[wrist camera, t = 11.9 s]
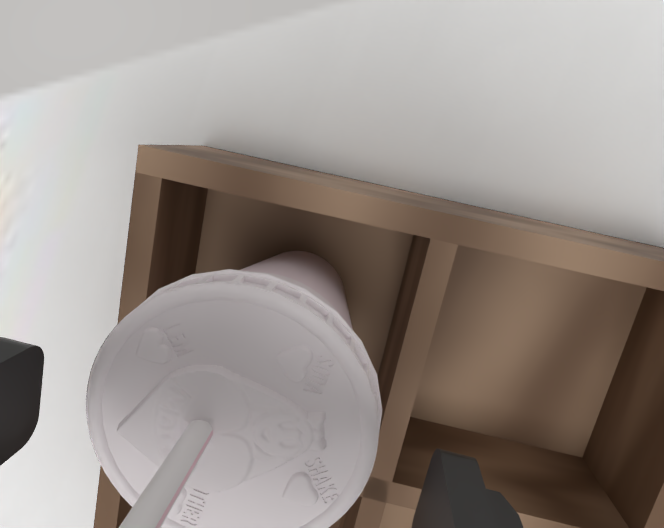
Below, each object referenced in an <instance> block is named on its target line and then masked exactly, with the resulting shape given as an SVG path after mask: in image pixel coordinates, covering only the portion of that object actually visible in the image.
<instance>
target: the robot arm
mask: <svg viewBox="0 0 664 528" xmlns="http://www.w3.org/2000/svg"><path fill="white" fill-rule="evenodd" d="M43 365H44V354H43V351H42V349H41V348H40V347H38V346H35V345H31V344H27V343H23V342H19V341H15V340H11V339H8V338H3V337H0V465H2V464H3V463H4V462H5V461H7V460H8V459H9V458H10V457H11V456H13V455H14V454H15V453H16V452H18V451H19V450H20V449H21V448H22V447H23V446H24V445H25V444H26V443H27V441H28V440H29V439H30V437H31V436H32V434H33V432H34V430H35V427H36V425H37V422H38V417H39V409H40V398H41V387H42V376H43ZM412 528H523V525H522V522H521V520H520V517H519V514H518V513H517V512H516V511H515V510H514V508H513V507H512V506H511V505H510V504H509V502H508V501H507V500H506V499H505V497H504V496H503V495H502V494H501V493H500V492H497V491H493V490H489V489H486V488H485V484H484V481H483V478H482V475H481V471H480V468H479V465H478V462H477V460H476V458H474V457H470V456H466V455H462V454H458V453H454V452H450V451H446V450H442V449H436V450H435V451H434V453H433V455H432V458H431V461H430V464H429V468H428V471H427V474H426V478H425V481H424V484H423V488H422V491H421V494H420V498H419V501H418V504H417V507H416V511H415V514H414V518H413V523H412Z"/></svg>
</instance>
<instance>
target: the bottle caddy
mask: <svg viewBox="0 0 664 528" xmlns="http://www.w3.org/2000/svg"><path fill="white" fill-rule="evenodd" d="M289 251H305V252H309V253H312V254H315V255H317V256H319V257H321V258H323V259H324V260H326V261H327V262H328V263H329V264H330V265H331V266H332V267H333V268H334V269H335V270H336V272H337V273H338V275H339V277H340V279H341V281H342V284H343V287H344V292H345V296H346V301H347V305H348V310H349V315H350V319H351V324H352V329H353V331H354V332H355V333H356V335H357V336H358V337H359V338H360V339H361V341H362V343H363V345H364V347H365V349H366V351H367V354H368V356H369V358H370V360H371V362H372V365H373V367H374V369H375V371H376V373H377V377H378V384H379V390H380V397H381V404H382V416H381V424H380V431H379V438H378V447H377V453H376V458H375V462H374V466H373V469H372V472H371V474H370V477H369V479H368V481H367V483H366V485H365V487H364V489H363V491H362V493H361V494H360V495H359V497H358V498H357V500H356V501H355V503H354V504H353V505H352V506H351V507H350V509H349V510H348V511H347V512H346V513H345V514H344V515H343V516H342V517H341V518H340V519H339V520H338V521H337V522H335V523H334V524H333V525H331V526H330V527H329V528H412V523H413V518H414V514H415V511H416V507H417V504H418V501H419V498H420V494H421V491H422V488H423V484H424V481H425V478H426V474H427V471H428V468H429V464H430V461H431V458H432V455H433V453H434V451H435V450H436V449H442V450H446V451H450V452H454V453H458V454H462V455H466V456H470V457H474V458H476V460H477V462H478V465H479V468H480V471H481V475H482V478H483V481H484V484H485V488H486V489H489V490H493V491H497V492H500V493H501V494H502V495H503V496H504V497H505V499H506V500H507V501H508V502H509V504H510V505H511V506H512V507H513V508H514V510H515V511H516V512H517V513H518V514H519V517H520V520H521V522H522V525H523V528H664V248H661V247H656V246H652V245H647V244H643V243H638V242H634V241H629V240H625V239H620V238H616V237H611V236H607V235H602V234H598V233H593V232H589V231H584V230H580V229H575V228H571V227H566V226H562V225H557V224H553V223H548V222H544V221H539V220H535V219H530V218H526V217H521V216H517V215H512V214H508V213H503V212H499V211H494V210H490V209H485V208H481V207H476V206H472V205H467V204H463V203H458V202H454V201H449V200H445V199H440V198H436V197H431V196H427V195H422V194H418V193H413V192H409V191H404V190H400V189H395V188H391V187H386V186H382V185H377V184H373V183H368V182H364V181H359V180H355V179H350V178H346V177H341V176H337V175H332V174H328V173H323V172H319V171H314V170H310V169H305V168H301V167H296V166H292V165H287V164H283V163H278V162H274V161H269V160H265V159H260V158H256V157H251V156H247V155H242V154H238V153H233V152H229V151H224V150H220V149H215V148H211V147H206V146H191V145H139V146H138V155H137V163H136V172H135V180H134V189H133V197H132V206H131V214H130V223H129V231H128V240H127V248H126V257H125V265H124V274H123V282H122V291H121V299H120V308H119V316H118V323H119V322H120V321H121V320H122V319H123V318H124V317H125V316H127V315H128V314H129V313H130V312H132V311H133V310H134V309H135V308H137V307H138V306H139V305H140V304H141V303H143V302H144V301H145V300H146V299H147V298H149V297H150V296H151V295H152V294H153V293H155V292H156V291H157V290H158V289H160V288H162V287H164V286H167V285H169V284H171V283H174V282H176V281H178V280H180V279H183V278H185V277H187V276H190V275H192V274H199V273H206V272H213V271H220V270H227V269H233V270H241V269H243V268H246V267H248V266H251V265H253V264H256V263H258V262H261V261H263V260H266V259H268V258H271V257H273V256H276V255H278V254H281V253H284V252H289ZM131 509H132V506H131V505H130V504H129V503H128V502H127V501H126V500H125V499H124V498H123V497H122V496H121V495H120V493H119V492H118V491H117V489H116V488H115V487H114V486H113V484H112V483H111V481H110V480H109V478H108V477H107V475H106V474H105V472H104V470H103V468H102V466H101V469H100V477H99V486H98V494H97V503H96V511H95V520H94V528H119V526H120V525H121V523H122V522H123V520H124V519H125V517H126V516H127V515H128V513H129V512H130V510H131Z"/></svg>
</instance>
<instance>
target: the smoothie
mask: <svg viewBox="0 0 664 528" xmlns="http://www.w3.org/2000/svg"><path fill="white" fill-rule="evenodd" d="M86 414H87V424H88V429H89V434H90V438H91V441H92V444H93V448H94V450H95V453H96V455H97V458H98V460H99V462H100V464H101V466H102V468H103V470H104V472H105V474H106V475H107V477H108V478H109V480H110V481H111V483H112V484H113V486H114V487H115V488H116V489H117V491H118V492H119V493H120V495H121V496H122V497H123V498H124V499H125V500H126V501H127V502H128V503H129V504H130V505H131V506H132V509H131V510H130V512H129V513H128V515H127V516H126V517H125V519H124V520H123V522H122V523H121V525H120V526H119V528H329V527H330V526H331V525H333V524H334V523H335V522H337V521H338V520H339V519H340V518H341V517H342V516H343V515H344V514H345V513H346V512H347V511H348V510H349V509H350V507H351V506H352V505H353V504H354V503H355V501H356V500H357V498H358V497H359V495H360V494H361V493H362V491H363V489H364V487H365V485H366V483H367V481H368V479H369V477H370V474H371V472H372V469H373V466H374V462H375V458H376V453H377V447H378V438H379V431H380V424H381V416H382V404H381V397H380V390H379V384H378V377H377V373H376V371H375V369H374V367H373V365H372V362H371V360H370V358H369V356H368V354H367V351H366V349H365V347H364V345H363V343H362V341H361V339H360V338H359V337H358V336H357V335H356V333H355V332H354V331H353V329H352V324H351V319H350V315H349V310H348V305H347V301H346V296H345V292H344V287H343V284H342V281H341V279H340V277H339V275H338V273H337V272H336V270H335V269H334V268H333V267H332V266H331V265H330V264H329V263H328V262H327V261H326V260H324V259H323V258H321V257H319V256H317V255H315V254H312V253H309V252H305V251H289V252H284V253H281V254H278V255H276V256H273V257H271V258H268V259H266V260H263V261H261V262H258V263H256V264H253V265H251V266H248V267H246V268H243V269H241V270H233V269H227V270H220V271H213V272H206V273H199V274H192V275H190V276H187V277H185V278H183V279H180V280H178V281H176V282H174V283H171V284H169V285H167V286H164V287H162V288H160V289H158V290H157V291H156V292H155V293H153V294H152V295H151V296H150V297H149V298H147V299H146V300H145V301H144V302H143V303H141V304H140V305H139V306H138V307H137V308H135V309H134V310H133V311H132V312H130V313H129V314H128V315H127V316H125V317H124V318H123V319H122V320H121V321H120V322H119V323H118V324H117V325H116V326H115V328H114V329H113V330H112V331H111V333H110V334H109V335H108V337H107V338H106V340H105V341H104V343H103V345H102V346H101V348H100V350H99V352H98V354H97V356H96V358H95V361H94V364H93V366H92V369H91V372H90V377H89V381H88V387H87V396H86Z"/></svg>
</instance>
